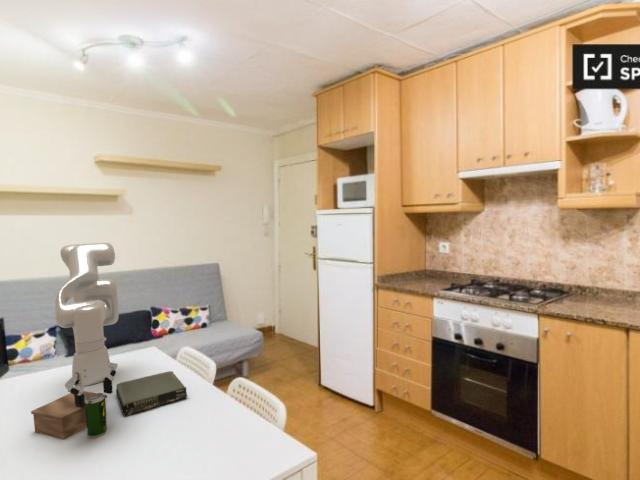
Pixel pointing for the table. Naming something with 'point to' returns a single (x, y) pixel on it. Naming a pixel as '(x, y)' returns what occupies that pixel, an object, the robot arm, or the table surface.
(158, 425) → the table surface
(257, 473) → the table surface
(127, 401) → the network switch
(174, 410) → the table surface
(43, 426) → the wooden block
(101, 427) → the beer can
